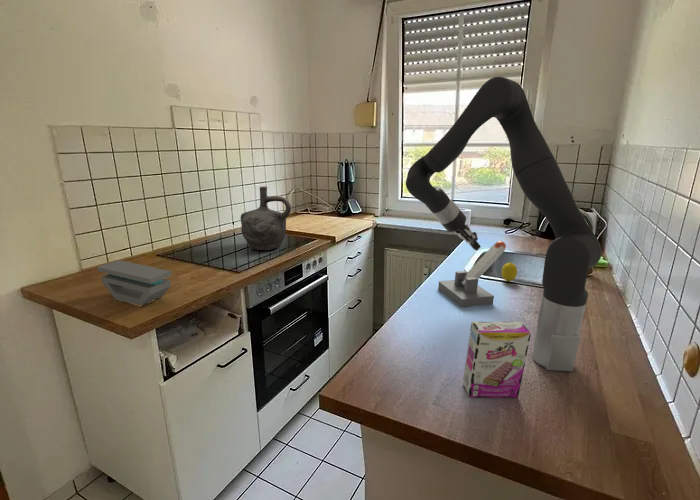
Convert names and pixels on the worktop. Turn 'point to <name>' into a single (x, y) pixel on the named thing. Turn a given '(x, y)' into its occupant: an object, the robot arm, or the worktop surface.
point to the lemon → (509, 271)
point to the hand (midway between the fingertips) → (477, 248)
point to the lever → (485, 261)
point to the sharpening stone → (134, 281)
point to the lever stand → (465, 291)
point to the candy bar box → (495, 359)
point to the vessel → (265, 223)
